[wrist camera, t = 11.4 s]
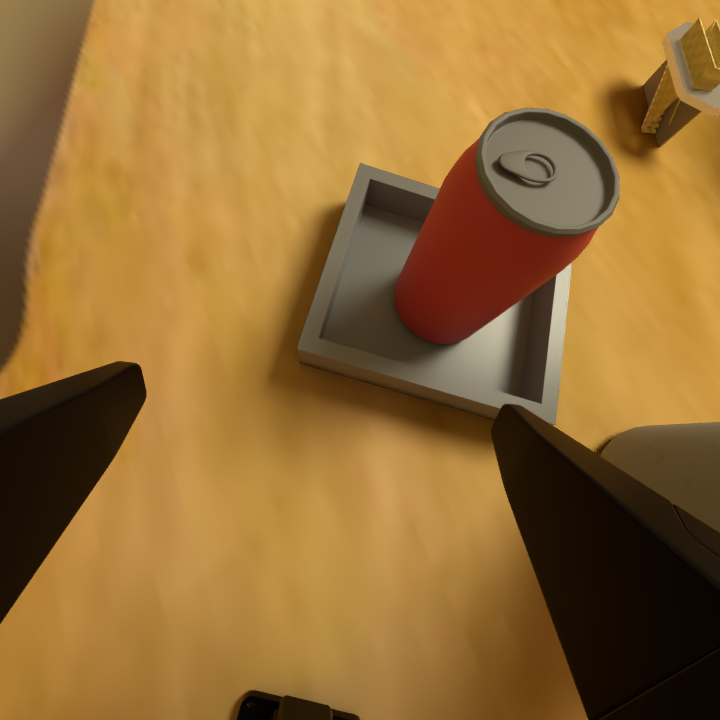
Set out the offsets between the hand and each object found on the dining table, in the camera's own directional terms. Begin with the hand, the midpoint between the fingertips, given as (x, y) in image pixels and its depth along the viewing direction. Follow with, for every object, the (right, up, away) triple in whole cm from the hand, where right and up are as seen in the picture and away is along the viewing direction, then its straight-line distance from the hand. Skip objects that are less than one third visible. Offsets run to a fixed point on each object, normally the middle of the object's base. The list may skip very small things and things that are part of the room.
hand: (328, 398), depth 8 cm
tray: (+6, +5, +16) cm, 18 cm away
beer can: (+6, +5, +15) cm, 17 cm away
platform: (+29, +25, +25) cm, 46 cm away
